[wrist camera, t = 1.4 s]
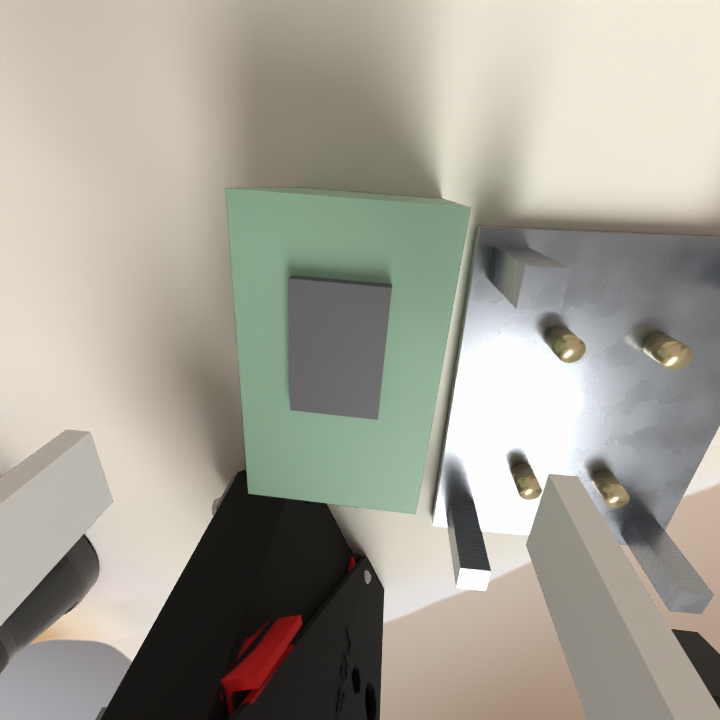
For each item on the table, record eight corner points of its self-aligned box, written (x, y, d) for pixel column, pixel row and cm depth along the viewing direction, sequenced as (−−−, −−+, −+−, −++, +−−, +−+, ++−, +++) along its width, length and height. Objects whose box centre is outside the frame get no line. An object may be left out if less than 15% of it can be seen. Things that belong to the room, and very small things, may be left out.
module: (293, 398, 29) (242, 501, 20) (291, 186, 23) (215, 188, 13) (411, 411, 29) (418, 523, 19) (443, 198, 23) (476, 208, 13)
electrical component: (216, 477, 33) (3, 820, 15) (321, 450, 31) (215, 818, 13) (298, 602, 40) (215, 949, 22) (390, 588, 38) (383, 962, 19)
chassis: (431, 516, 33) (439, 595, 27) (477, 225, 23) (507, 241, 17) (648, 537, 32) (710, 625, 25) (797, 239, 22) (962, 262, 15)
